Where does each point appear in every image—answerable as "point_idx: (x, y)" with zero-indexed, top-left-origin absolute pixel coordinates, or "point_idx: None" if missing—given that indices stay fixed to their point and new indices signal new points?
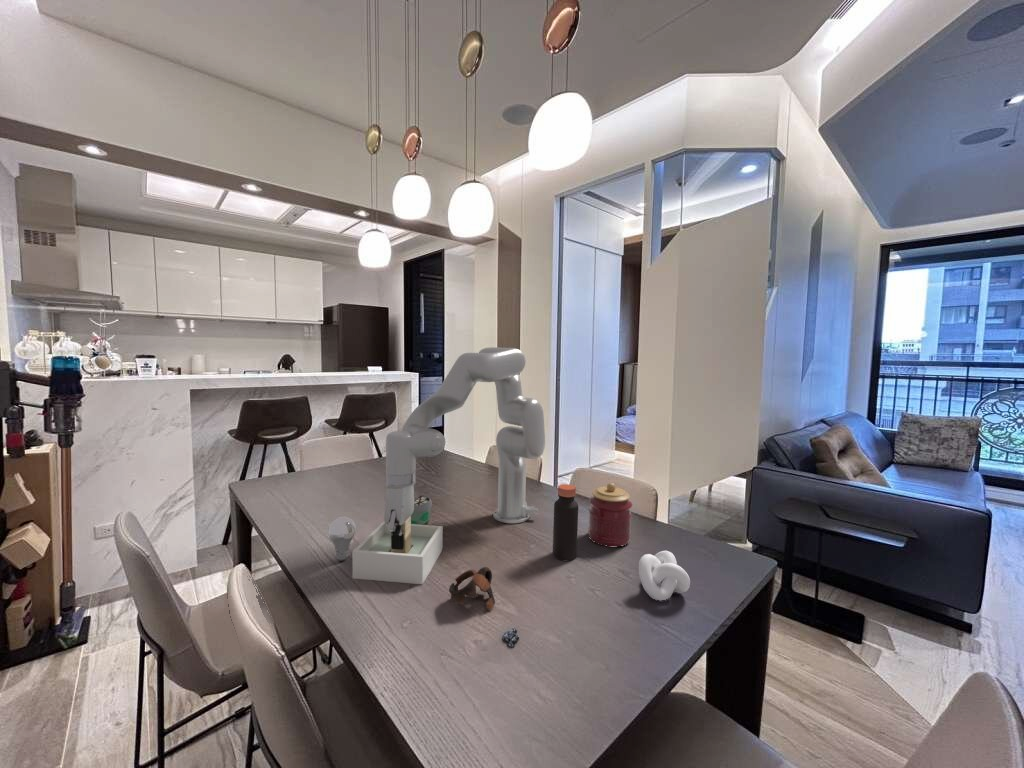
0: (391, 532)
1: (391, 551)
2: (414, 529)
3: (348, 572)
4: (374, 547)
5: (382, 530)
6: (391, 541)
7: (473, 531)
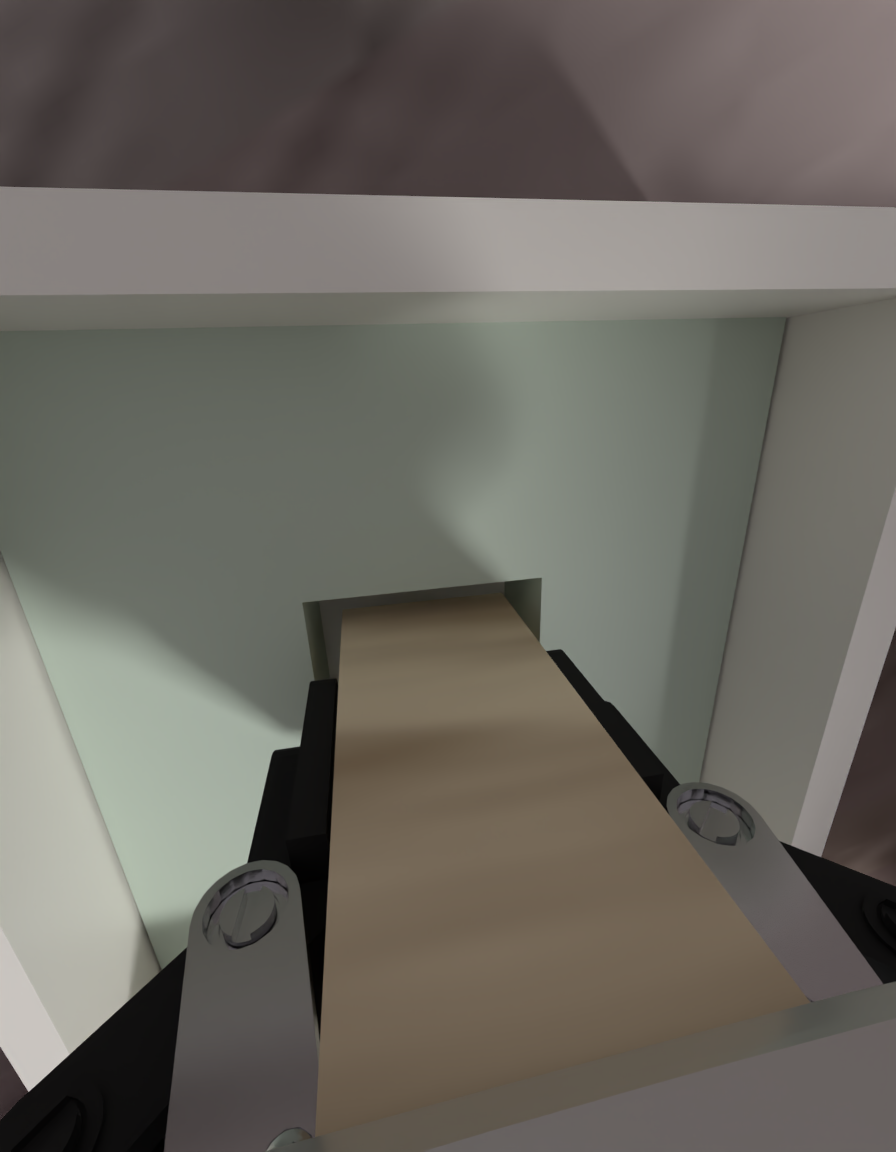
0: (55, 1079)
1: (342, 637)
2: (775, 727)
3: (81, 177)
4: (392, 373)
5: (797, 305)
6: (301, 741)
7: (872, 845)
